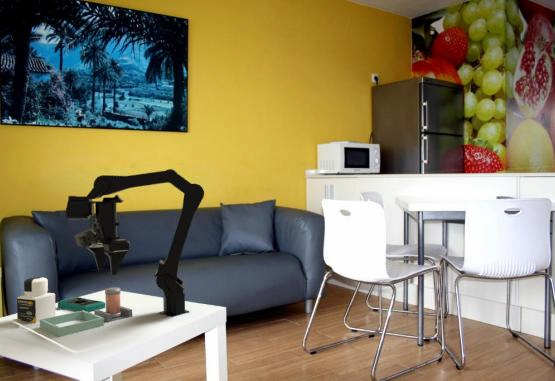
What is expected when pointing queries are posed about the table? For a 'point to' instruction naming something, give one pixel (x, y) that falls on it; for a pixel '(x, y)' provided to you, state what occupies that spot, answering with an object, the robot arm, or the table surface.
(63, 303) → the digital multimeter
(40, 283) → the medicine bottle
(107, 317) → the grey cradle stand
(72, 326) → the tray
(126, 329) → the table surface
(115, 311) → the fuse
